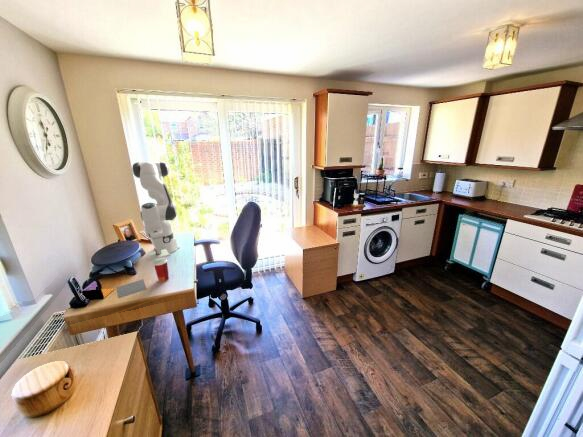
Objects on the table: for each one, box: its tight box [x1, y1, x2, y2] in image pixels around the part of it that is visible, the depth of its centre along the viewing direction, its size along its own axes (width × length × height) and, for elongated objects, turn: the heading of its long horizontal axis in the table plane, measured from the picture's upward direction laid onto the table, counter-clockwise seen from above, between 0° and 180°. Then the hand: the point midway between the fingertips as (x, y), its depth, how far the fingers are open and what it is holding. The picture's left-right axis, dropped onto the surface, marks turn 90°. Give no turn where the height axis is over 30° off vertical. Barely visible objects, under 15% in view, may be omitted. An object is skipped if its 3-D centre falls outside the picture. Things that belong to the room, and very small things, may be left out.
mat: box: [116, 278, 147, 299], centre depth 141 cm, size 14×14×1 cm
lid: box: [147, 248, 171, 261], centre depth 144 cm, size 10×10×4 cm
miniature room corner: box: [81, 280, 115, 301], centre depth 135 cm, size 12×12×7 cm
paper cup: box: [152, 257, 170, 283], centre depth 148 cm, size 8×8×14 cm
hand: (158, 252), depth 144 cm, fingers closed on lid, 3 cm apart
